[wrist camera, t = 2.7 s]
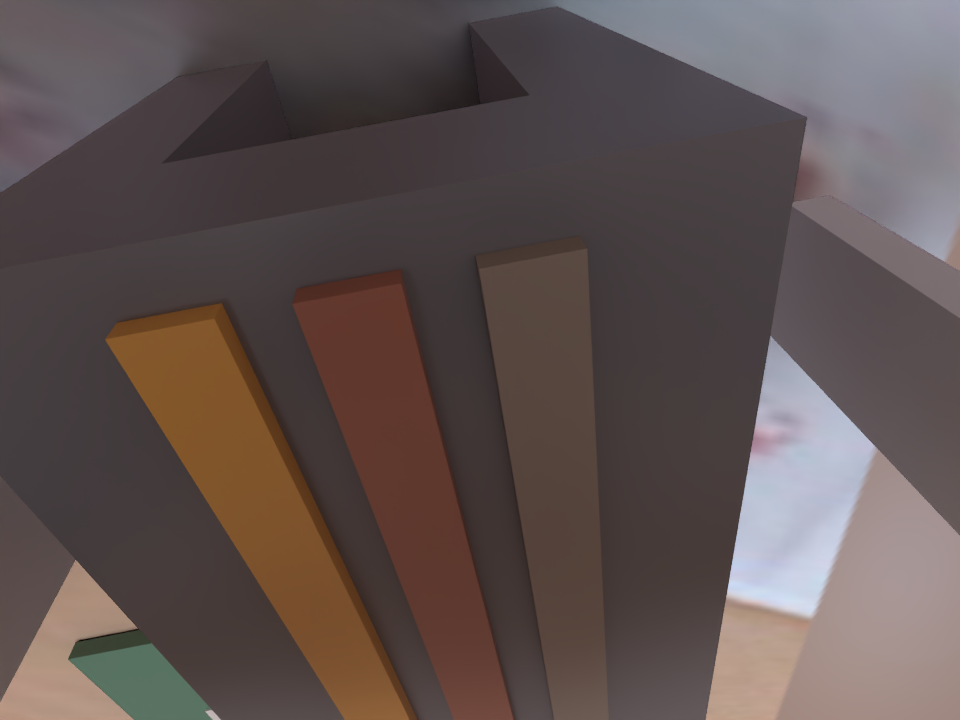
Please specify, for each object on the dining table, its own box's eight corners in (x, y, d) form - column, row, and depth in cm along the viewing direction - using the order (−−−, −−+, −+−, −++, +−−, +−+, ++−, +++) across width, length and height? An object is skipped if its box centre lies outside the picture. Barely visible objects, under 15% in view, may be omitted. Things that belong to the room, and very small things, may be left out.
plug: (178, 76, 9) (-186, 315, 3) (556, 6, 9) (825, 127, 4) (341, 473, 15) (305, 832, 9) (583, 427, 15) (708, 754, 9)
